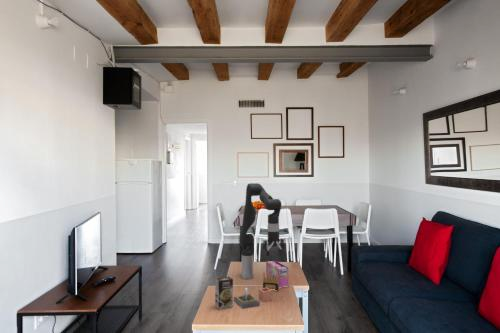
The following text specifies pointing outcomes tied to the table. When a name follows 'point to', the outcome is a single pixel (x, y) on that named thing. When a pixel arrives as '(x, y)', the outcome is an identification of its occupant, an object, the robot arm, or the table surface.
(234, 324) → the table surface
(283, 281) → the gum box
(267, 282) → the ammunition clip
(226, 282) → the coffee box
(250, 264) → the robot arm
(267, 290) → the collar
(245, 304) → the post stand
